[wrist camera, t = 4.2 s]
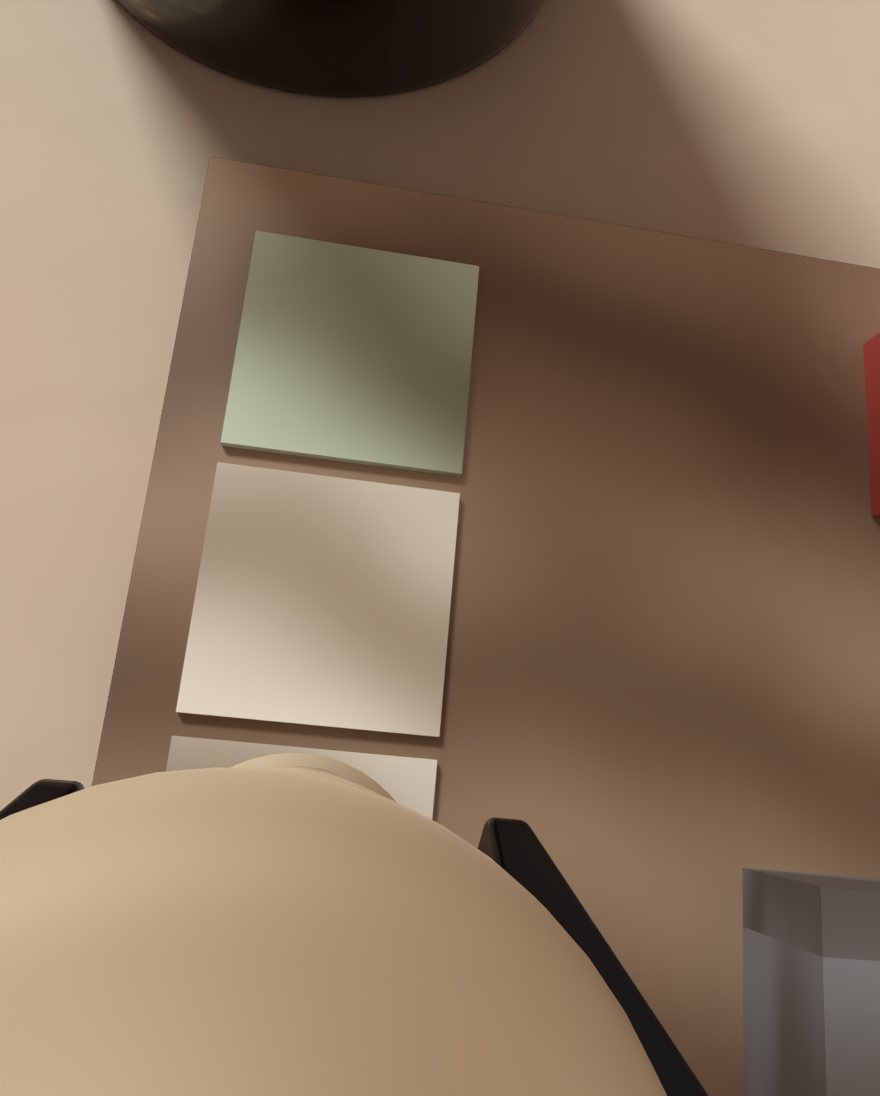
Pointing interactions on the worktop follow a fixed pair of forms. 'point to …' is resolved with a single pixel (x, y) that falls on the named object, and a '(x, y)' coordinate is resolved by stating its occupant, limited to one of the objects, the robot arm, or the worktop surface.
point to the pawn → (285, 949)
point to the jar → (337, 39)
